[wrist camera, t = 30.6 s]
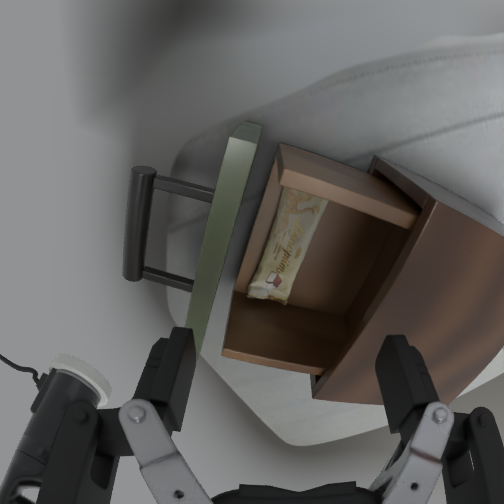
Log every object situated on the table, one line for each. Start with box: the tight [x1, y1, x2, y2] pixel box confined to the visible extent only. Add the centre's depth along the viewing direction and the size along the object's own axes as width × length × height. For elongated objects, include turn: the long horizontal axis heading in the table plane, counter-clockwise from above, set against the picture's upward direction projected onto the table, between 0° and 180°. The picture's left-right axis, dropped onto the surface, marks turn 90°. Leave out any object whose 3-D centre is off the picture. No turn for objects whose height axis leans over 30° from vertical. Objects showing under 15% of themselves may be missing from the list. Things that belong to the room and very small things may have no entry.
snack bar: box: [247, 187, 329, 305], centre depth 20 cm, size 10×2×3 cm
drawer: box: [123, 121, 423, 376], centre depth 18 cm, size 17×13×7 cm
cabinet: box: [310, 155, 504, 405], centre depth 19 cm, size 14×15×9 cm
